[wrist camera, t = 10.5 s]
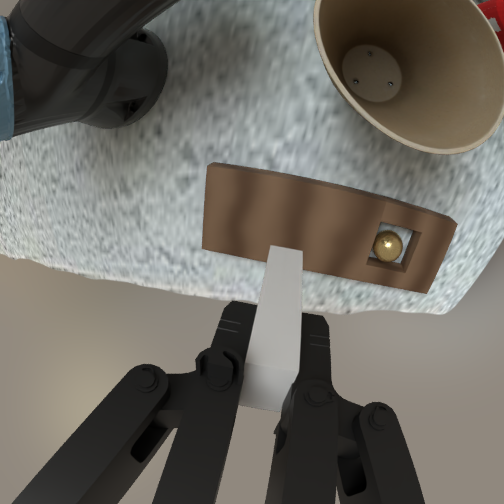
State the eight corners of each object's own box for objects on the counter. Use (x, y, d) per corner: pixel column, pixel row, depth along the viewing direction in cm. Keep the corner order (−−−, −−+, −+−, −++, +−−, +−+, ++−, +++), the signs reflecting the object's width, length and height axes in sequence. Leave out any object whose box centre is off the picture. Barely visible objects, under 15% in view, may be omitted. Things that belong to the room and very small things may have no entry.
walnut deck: (207, 240, 38) (201, 248, 36) (213, 162, 33) (207, 165, 30) (421, 284, 35) (426, 293, 33) (449, 216, 30) (457, 223, 27)
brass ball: (364, 250, 34) (376, 268, 31) (372, 222, 32) (386, 239, 28) (388, 251, 34) (401, 268, 31) (397, 225, 32) (412, 241, 29)
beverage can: (472, 28, 16) (539, 9, 3) (475, 68, 19) (549, 63, 6) (436, 11, 17) (496, -24, 4) (439, 52, 20) (510, 31, 7)
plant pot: (377, 159, 29) (433, 199, 15) (282, 72, 26) (261, 34, 12) (449, 85, 22) (532, 83, 8) (361, -1, 19) (395, -67, 5)
